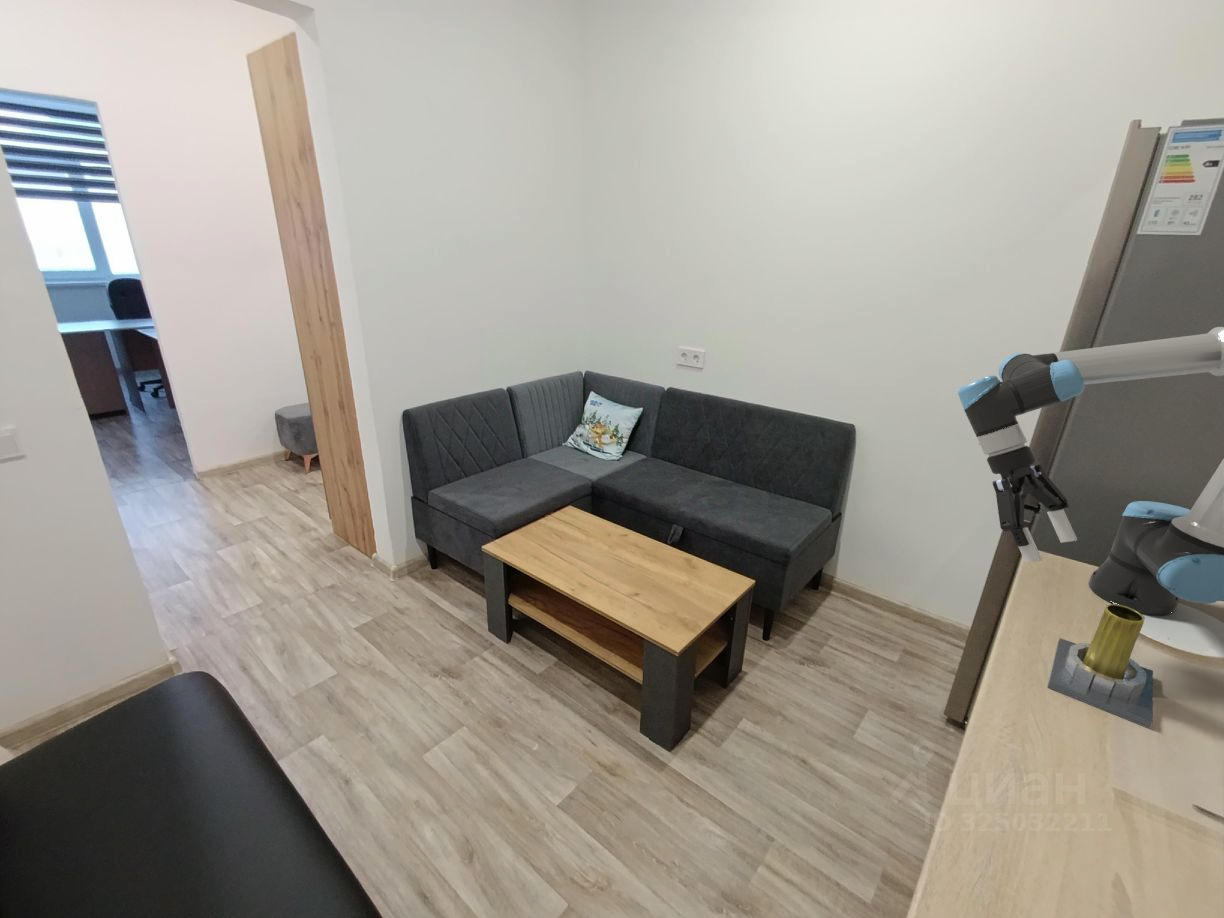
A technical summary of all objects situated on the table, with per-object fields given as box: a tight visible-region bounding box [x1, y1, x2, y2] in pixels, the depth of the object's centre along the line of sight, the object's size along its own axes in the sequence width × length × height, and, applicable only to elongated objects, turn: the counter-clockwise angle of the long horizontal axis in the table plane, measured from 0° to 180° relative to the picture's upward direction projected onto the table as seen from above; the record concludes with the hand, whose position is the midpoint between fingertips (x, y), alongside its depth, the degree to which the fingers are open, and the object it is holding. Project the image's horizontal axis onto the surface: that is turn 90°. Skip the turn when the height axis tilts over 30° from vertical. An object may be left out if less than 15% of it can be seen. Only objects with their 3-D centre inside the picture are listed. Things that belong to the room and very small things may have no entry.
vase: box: [1083, 603, 1145, 680], centre depth 99 cm, size 6×6×14 cm
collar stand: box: [1047, 638, 1154, 729], centre depth 102 cm, size 16×14×4 cm
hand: (1052, 551), depth 108 cm, fingers open, 13 cm apart
